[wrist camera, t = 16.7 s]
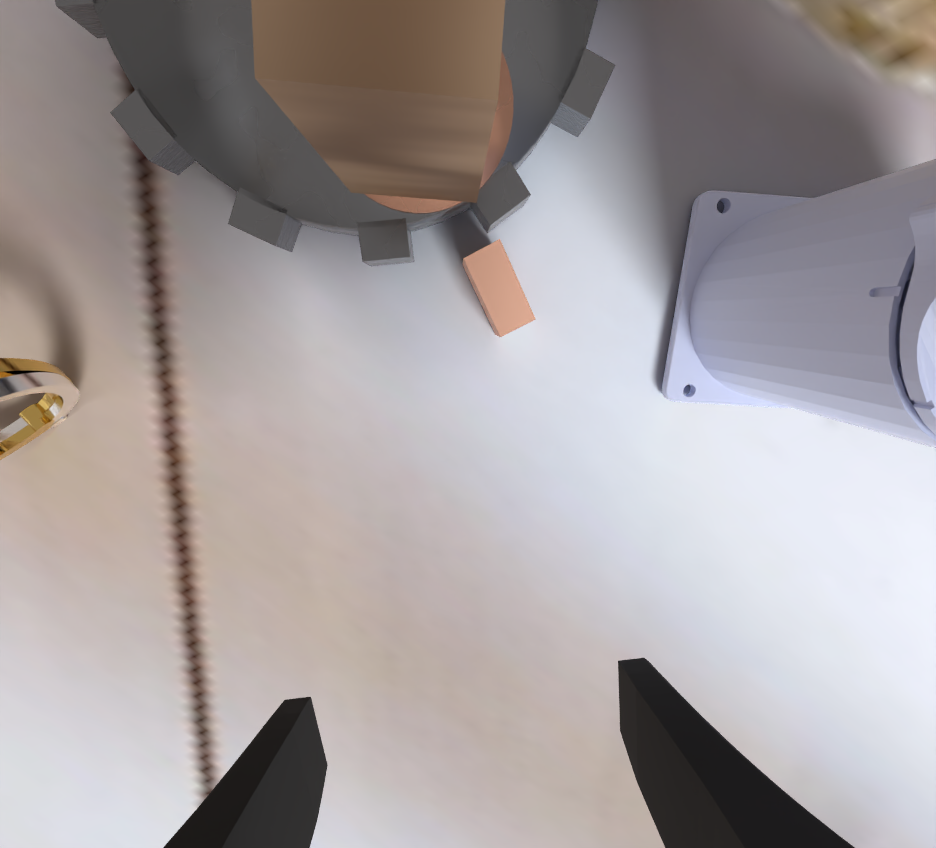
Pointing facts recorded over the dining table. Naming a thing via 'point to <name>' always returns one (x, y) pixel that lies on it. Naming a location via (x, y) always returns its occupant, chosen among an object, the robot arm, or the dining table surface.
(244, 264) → the dining table surface
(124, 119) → the sprocket
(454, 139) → the wooden block
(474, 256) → the peach rectangular prism
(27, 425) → the ring
